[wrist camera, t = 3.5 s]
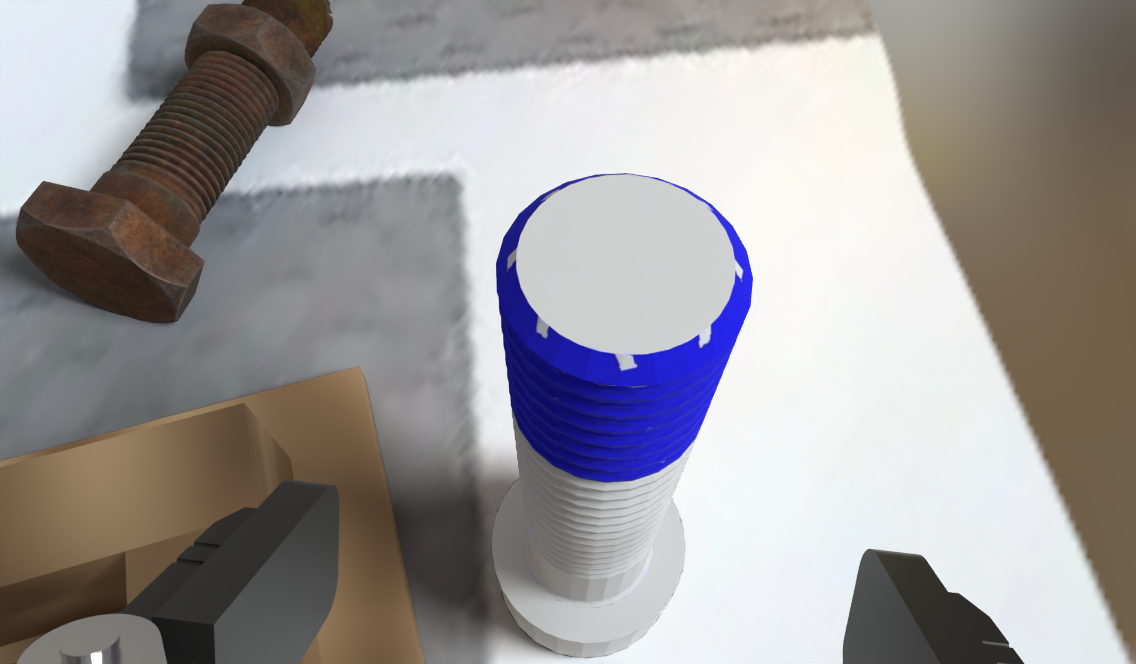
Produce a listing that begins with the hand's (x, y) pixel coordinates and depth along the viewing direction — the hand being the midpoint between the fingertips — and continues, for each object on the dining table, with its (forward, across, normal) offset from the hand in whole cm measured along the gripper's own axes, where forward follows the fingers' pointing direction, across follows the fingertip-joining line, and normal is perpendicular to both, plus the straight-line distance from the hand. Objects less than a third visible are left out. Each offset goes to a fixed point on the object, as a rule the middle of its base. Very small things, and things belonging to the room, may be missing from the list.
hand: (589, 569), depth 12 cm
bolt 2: (+10, 0, +6) cm, 12 cm away
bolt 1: (+20, +15, -4) cm, 25 cm away
